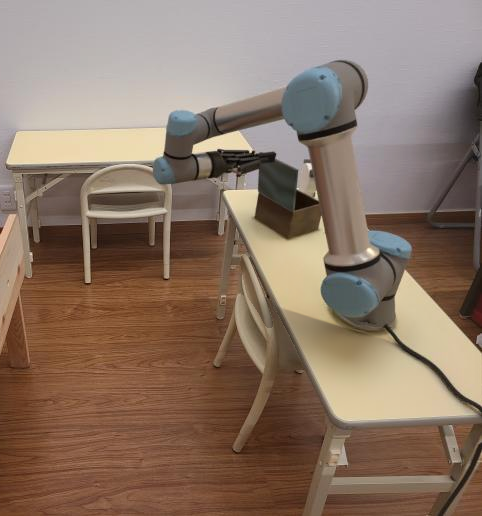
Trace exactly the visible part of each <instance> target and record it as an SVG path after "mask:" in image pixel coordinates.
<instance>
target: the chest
mask: <svg viewBox="0 0 482 516" xmlns="http://www.w3.org/2000/svg"><path fill="white" fill-rule="evenodd" d="M314 198H315V197H311V196H309V195H307V194H305V193H303V192H301V191H299V189H297V190H296V201H295V211H293V212H292V211H291V210H289V209H287V208H285V207H284V206H282V205H280V204H279V203H277V202H275V201H273V200H272V199H270V198H268V197H267V196H265V195H263V194H261V193H260V192H258V193H257V199H256V206H255V211H254V217H253V218H254V219H256V220H257V221H259V222H260V223H262V224H263V225H264V226H267V228H270V229H271V230H273V231H274V232H276V233H277V234H279V235H281V236H282V237H284V238H285V239H286V240H291V239H293V238H296V237H300V236H302V235H307V234H309V233H313V232H316V231H318V230H319V228H320V223H321V219H322V215H321V210H320V205H319V200H318V199H317V198H315V199H314ZM316 199H317V200H316Z"/></svg>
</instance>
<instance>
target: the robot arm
mask: <svg viewBox="0 0 482 516" xmlns="http://www.w3.org/2000/svg"><path fill="white" fill-rule="evenodd" d="M368 90H369V78H368V75H367V74H366V72H365V70H364V69H363V68H362V66H361V65H360V64H358V63H357V62H354V61H352V60H348V59H336V60H333V61H330V62H326V63H325V64H321V65H318V66H314V67H313V66H312V67H310V68H308V69H305V70H303V71H302V72H301V73H298V74H297V75H296V76H294V77H293V78H292V79H291V80H290V81H289V82H288V84H287V85H283V86H281V87H277V88H274V89H271V90H267V91H265V92H261V93H258V94H254V95H251V96H248V97H245V98H242V99H239V100H236V101H232V102H229V103H226V104H223V105H220V106H216V107H211V108H209V109H208V108H207V109H206V110H204V111H200V112H199V113H194V112H192V111H190V110H185V109H179V110H178V109H177V110H173V111H172V112H170V113H169V114H168V119H167V124H166V127H165V140H164V149H163V153H162V156H158V157H156V158H155V159H154V160H153V163H152V174H153V178H154V180H155V182H157V183H158V184H159V185H161V186H163V185H175V184H180V183H186V182H193V181H194V182H195V181H200V180H201V181H202V180H207V179H208V180H209V179H217V178H220V177H221V176H222V175H223V174H231V173H233V174H235V176H236V178H240V177H242V176H243V175H245V174H249V173H253V172H254V171H259V168H260V164H264V163H270V162H274V161H275V159H277V153H276V152H275V151H274V150H273V151H266V152H263V153H260V152H257V153H256V150H253V149H252V150H251V152H250V150H249V149H224V148H216V150H210V151H201V152H194V153H193V149H194V146H195V145H197V144H200V143H202V142H204V141H207V140H210V139H212V138H216V137H219V136H223V135H226V134H230V133H234V132H238V131H242V130H247V129H250V128H254V127H258V126H262V125H266V124H270V123H275V122H279V121H283V120H284V121H285V123H286V124H287V126H289V127H291V129H292V130H294V131H295V132H296V135H297V141H298V143H300V144H301V145H304V146H305V147H306V148H307V151H308V155H309V156H308V157H309V159H310V161H311V166H312V171H313V176H314V181H315V185H316V196H317V200H318V201H319V205H320V210H321V219H322V225H323V230H324V235H325V240H326V244H327V249H328V251H327V252H326V253H325V255H324V256H323V265H324V269H325V275H326V276H325V277H324V279H323V280H322V282H321V285H320V297H321V298H322V300H323V302H324V303H325V304H326V306H328V308H329V309H331V312H332V314H333V316H334V317H335V318H336V319H337V320H338V321H339V322H341V323H342V324H343V325H345V326H347V327H349V328H351V329H353V330H355V331H356V330H357V331H360V332H363V333H370V334H371V333H372V334H377V333H384V332H386V331H387V333H389V335H390V336H391V337H392V339H393V340H394V341H395V342H396V343H397V345H399V346H400V347H401V348H402V349H403V350H404V351H406V352H408V353H409V354H410V355H412V356H414V357H415V358H417V359H419V360H421V361H422V362H424V364H427V365H428V366H429V367H430V368H432V369H433V370H434V371H435V372H436V374H438V375H439V376H440V378H441V379H442V380H443V383H444V384H445V385H446V386H447V387H448V389H450V391H451V392H452V393H453V394H454V395H455V396H456V397H457V398H459V400H461V401H463V402H464V403H466V404H468V405H470V406H472V407H473V408H475V409H477V410H478V411H479V412H480V413H481V414H482V405H480V404H479V403H478V402H475V401H474V400H473V399H470V398H468V397H466V396H465V395H463V394H462V393H461V392H460V391H459V390H458V389H457V388H456V387H455V386H454V384H453V383H452V382H451V381H450V379H449V378H448V377H447V375H445V373H444V372H443V371H442V370H441V369H440V368H439V367H438V366H437V365H436V364H435V363H434V362H432V361H431V360H430V359H429V358H426V356H424V355H421V354H420V353H419V352H417V351H415V350H414V349H412V348H410V347H409V346H407V345H406V344H405V343H404V342H403V341H402V340H401V339H400V338H399V337H398V336H397V334H396V333H395V332H394V331H393V329H392V327H393V325H394V323H395V320H396V315H397V313H396V295H397V292H398V290H399V286H400V284H401V282H402V279H403V277H404V274H405V272H406V271H405V270H406V269H407V265H408V263H409V260H411V255H412V252H413V247H412V245H411V244H410V242H409V241H407V240H406V239H405V238H403V237H401V236H399V235H396V234H393V233H390V232H387V231H384V230H369V229H368V223H367V219H366V213H365V212H366V211H365V208H364V201H363V196H362V190H361V185H360V179H359V173H358V168H357V162H356V156H355V151H354V146H353V141H352V140H353V139H352V137H353V134H354V132H356V129H357V128H358V120H357V115H356V110H358V109H359V107H360V106H361V105H362V104H363V102H364V100H366V97H367V94H368ZM481 454H482V441H481V442H479V443H478V444H477V447H476V449H475V452H474V455H473V457H472V459H471V461H470V464H469V466H468V468H467V469H466V471H465V473H464V474H463V476H462V478H461V480H460V481H459V482H458V484H457V486H456V487H455V489H454V490H453V491H452V493H451V494H450V496H449V497H448V499H447V500H446V501H445V503H444V505H442V508H441V509H440V511H439V512H438V514H437V516H444V515H445V514H446V512H448V511H447V510H448V509H449V508H450V506H451V505H452V503H453V502H454V501H455V499H456V498H457V497H458V495H459V494H460V492H461V491H462V489H463V488H464V487H465V485H466V483H467V482H468V480H469V479H470V477H471V476H472V473H473V471H474V470H475V468H476V467H477V464H478V461H479V459H480V457H481Z"/></svg>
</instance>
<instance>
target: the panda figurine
mask: <svg viewBox="0 0 482 516" xmlns="http://www.w3.org/2000/svg"><path fill="white" fill-rule="evenodd" d="M298 190H299V191H301V192H303V193H305V194H307V195H309V196H311V197H313V198H314V199H316V200H318V198H316V194H317V190H316V185H315V181H314V176H313V171H312V166H311V161H310V158H308V159H307V158H305V159H303V164H302V167H301V170H300V177H299V186H298Z"/></svg>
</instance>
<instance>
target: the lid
mask: <svg viewBox="0 0 482 516" xmlns="http://www.w3.org/2000/svg"><path fill="white" fill-rule="evenodd" d="M259 153H264V152H263V151H259ZM257 177H258V178H257V179H258V180H257V192H258V193H259V192H260V193H261V194H263V195H265V196H267V197H268V198H270V199H272V200H273V201H275V202H277V203H279V204H280V205H282V206H284V207H285V208H287V209H289V210H291V211H292V212H293V211H295V201H296V190H298V180H299V179H298V178H299V169H298V168H296V167H294V166H292V165H290V164H288V163H286V162H284V161H281V160H280V159H277V158H275V161H274V162H270V163H264V164H260V168H259V169H258V176H257Z"/></svg>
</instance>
